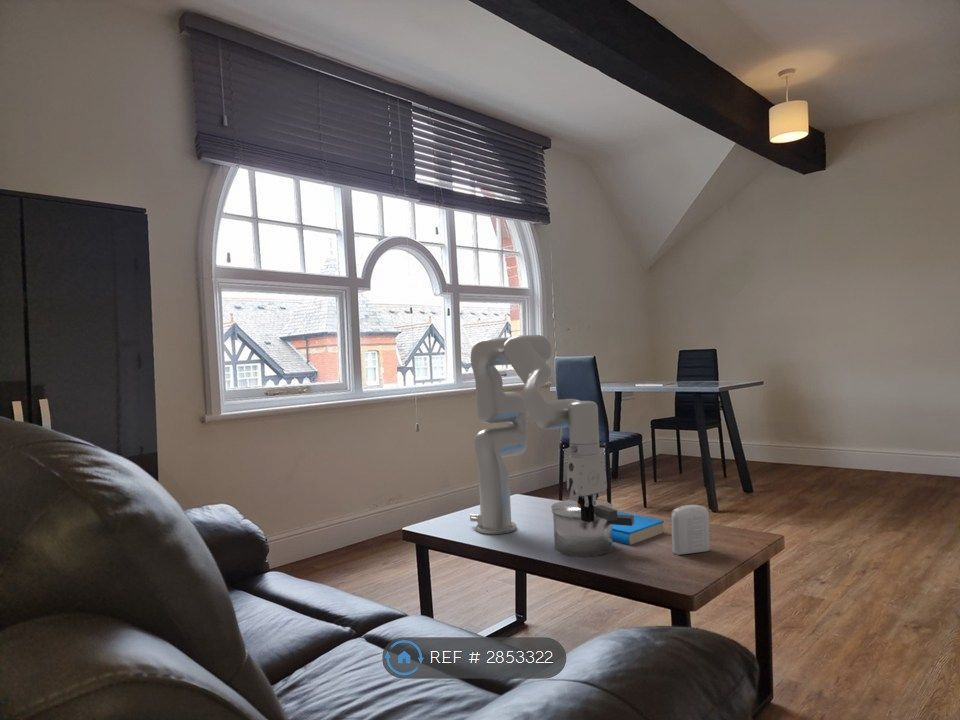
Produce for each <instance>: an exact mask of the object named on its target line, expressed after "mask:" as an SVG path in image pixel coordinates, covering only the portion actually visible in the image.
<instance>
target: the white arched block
mask: <svg viewBox="0 0 960 720" xmlns="http://www.w3.org/2000/svg"><path fill="white" fill-rule="evenodd" d="M709 514H710V513H709V511H708V508H707V507H706V506H703V505H698V504H686V505H682V506H679V507H677V508H674V509H673V510H672V511H671V513H670V522H671V525H670V527H671V529H670V530H671V549H672V553H673V554H675V555H679V556H680V555H687V554H688V555H689V554H695V553H704V552H709V551H710V550H711V547H710V546H711V545H710V544H711V543H710V536H711V535H710V515H709Z"/></svg>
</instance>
